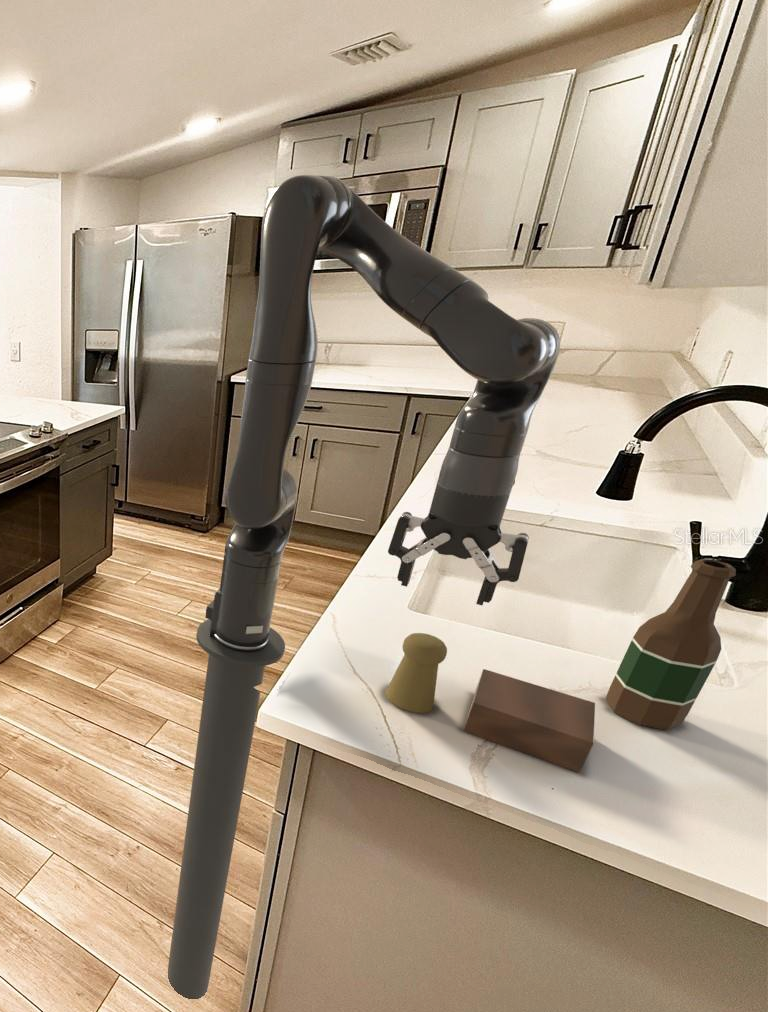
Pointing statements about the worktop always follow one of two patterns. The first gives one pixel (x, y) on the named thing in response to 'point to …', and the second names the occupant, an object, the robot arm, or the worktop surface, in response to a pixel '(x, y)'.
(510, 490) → the robot arm
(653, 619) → the beer bottle
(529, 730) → the walnut block
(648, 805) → the worktop surface
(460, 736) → the worktop surface
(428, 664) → the cork
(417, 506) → the worktop surface
